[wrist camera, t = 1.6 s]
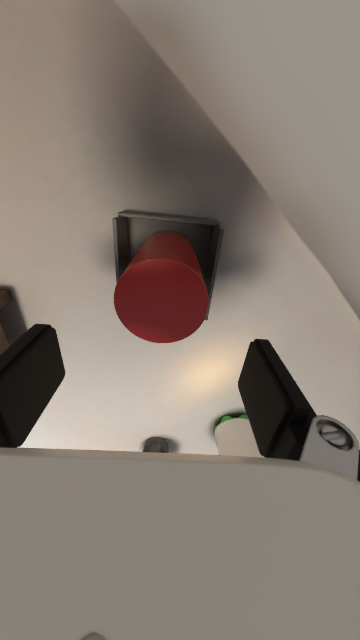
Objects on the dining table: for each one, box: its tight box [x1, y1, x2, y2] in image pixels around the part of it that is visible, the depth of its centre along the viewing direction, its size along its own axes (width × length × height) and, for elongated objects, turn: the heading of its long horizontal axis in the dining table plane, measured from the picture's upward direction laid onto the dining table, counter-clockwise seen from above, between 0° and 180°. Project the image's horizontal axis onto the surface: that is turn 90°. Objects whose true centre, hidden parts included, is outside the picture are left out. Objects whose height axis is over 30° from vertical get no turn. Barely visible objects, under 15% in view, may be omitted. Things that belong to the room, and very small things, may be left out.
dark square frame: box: [113, 211, 224, 320], centre depth 22 cm, size 9×9×4 cm
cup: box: [214, 414, 264, 458], centre depth 33 cm, size 11×11×14 cm
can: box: [114, 231, 209, 343], centre depth 19 cm, size 6×6×11 cm
